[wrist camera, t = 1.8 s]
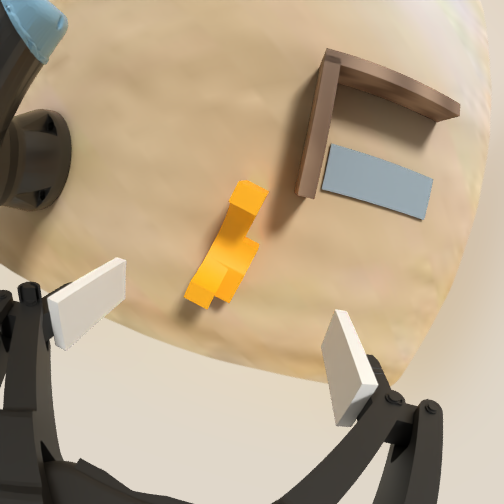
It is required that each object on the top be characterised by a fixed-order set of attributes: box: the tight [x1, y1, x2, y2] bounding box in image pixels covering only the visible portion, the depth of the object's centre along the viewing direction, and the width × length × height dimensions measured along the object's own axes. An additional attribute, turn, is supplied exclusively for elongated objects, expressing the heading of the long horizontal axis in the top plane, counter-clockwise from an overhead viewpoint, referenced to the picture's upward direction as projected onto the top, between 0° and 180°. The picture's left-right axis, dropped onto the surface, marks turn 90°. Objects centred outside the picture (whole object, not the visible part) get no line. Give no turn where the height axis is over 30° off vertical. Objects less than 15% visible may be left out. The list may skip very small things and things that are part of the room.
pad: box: [322, 144, 433, 220], centre depth 27 cm, size 13×5×1 cm, turn 78°
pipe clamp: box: [184, 180, 269, 309], centre depth 27 cm, size 12×4×6 cm, turn 153°
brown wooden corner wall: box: [294, 48, 460, 199], centre depth 23 cm, size 15×15×5 cm
